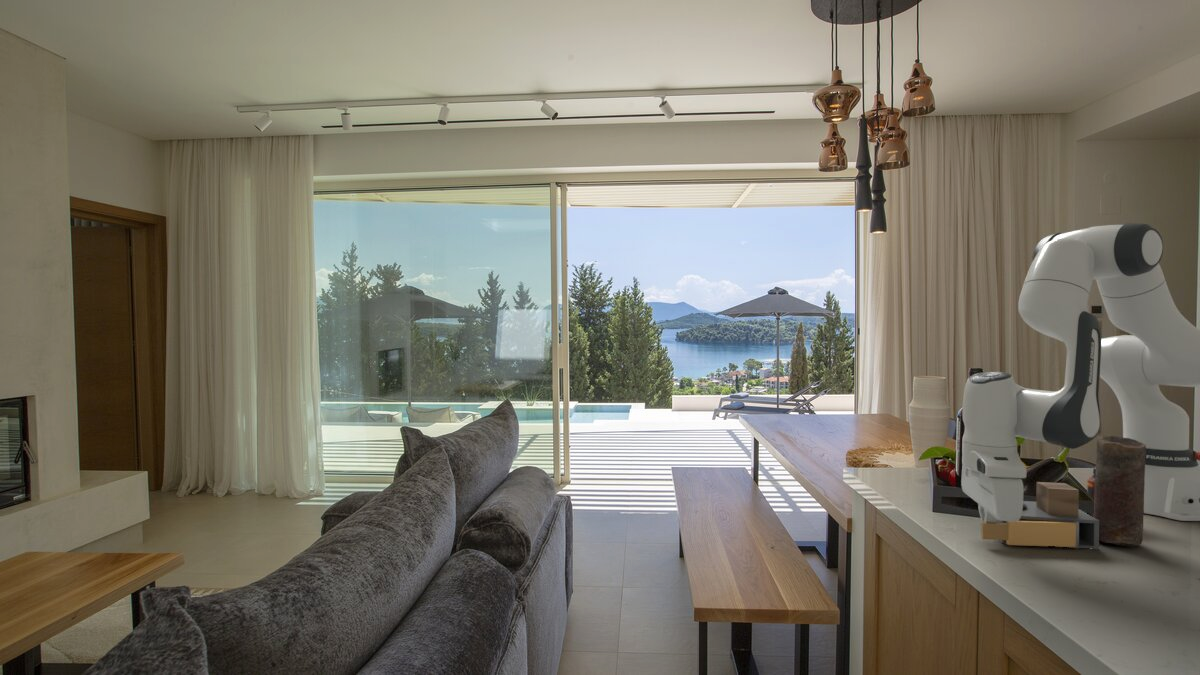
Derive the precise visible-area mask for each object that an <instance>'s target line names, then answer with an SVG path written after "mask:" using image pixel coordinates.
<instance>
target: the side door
mask: <svg viewBox="0 0 1200 675" xmlns="http://www.w3.org/2000/svg"><path fill="white" fill-rule="evenodd" d="M980 526H981V528H980V539H981V540H993V541H999V540H1006V545H1008V546H1030V547H1031V546H1034V547H1035V546H1036V547H1048V546H1058V547H1057V548H1063V547H1074V548H1073V549H1078V548H1079V522H1077V521H1074V522H1045V521H1017V522H1015V521H1007V523H985V522H981V521H980Z"/></svg>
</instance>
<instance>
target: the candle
mask: <svg viewBox="0 0 1200 675" xmlns="http://www.w3.org/2000/svg"><path fill="white" fill-rule="evenodd" d="M1145 453H1146V445H1144V444H1143V443H1141V442H1138V441H1136V440H1133V439H1130V438H1123V436H1116V435H1105V436H1104V435H1101V436H1099V437H1097V439H1096V456H1095V459H1096V460H1095V467H1096V475H1095V496H1094V513H1093V517H1094V518H1096V519H1097V520H1099V541H1100V542H1102V543H1105V544H1112V545H1115V546H1116V545H1117V546H1120V547H1131V548H1133V547H1136V546H1138V545H1141V544H1142V543H1143V540H1144V516H1145V515H1144V514H1145V513H1144V485H1145V482H1144V480H1145Z"/></svg>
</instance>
